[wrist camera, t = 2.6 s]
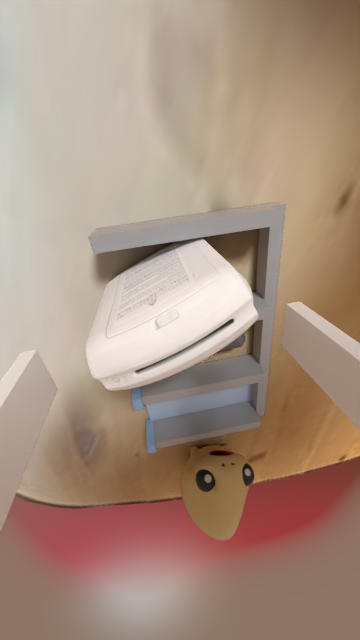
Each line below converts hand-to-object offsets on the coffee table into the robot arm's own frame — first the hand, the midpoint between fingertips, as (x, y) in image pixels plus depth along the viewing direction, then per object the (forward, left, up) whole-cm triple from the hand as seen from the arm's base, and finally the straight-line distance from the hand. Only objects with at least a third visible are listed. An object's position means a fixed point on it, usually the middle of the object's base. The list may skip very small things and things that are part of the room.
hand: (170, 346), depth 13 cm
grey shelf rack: (+8, +3, -11) cm, 14 cm away
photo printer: (0, 0, -11) cm, 11 cm away
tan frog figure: (+29, +3, -11) cm, 31 cm away
